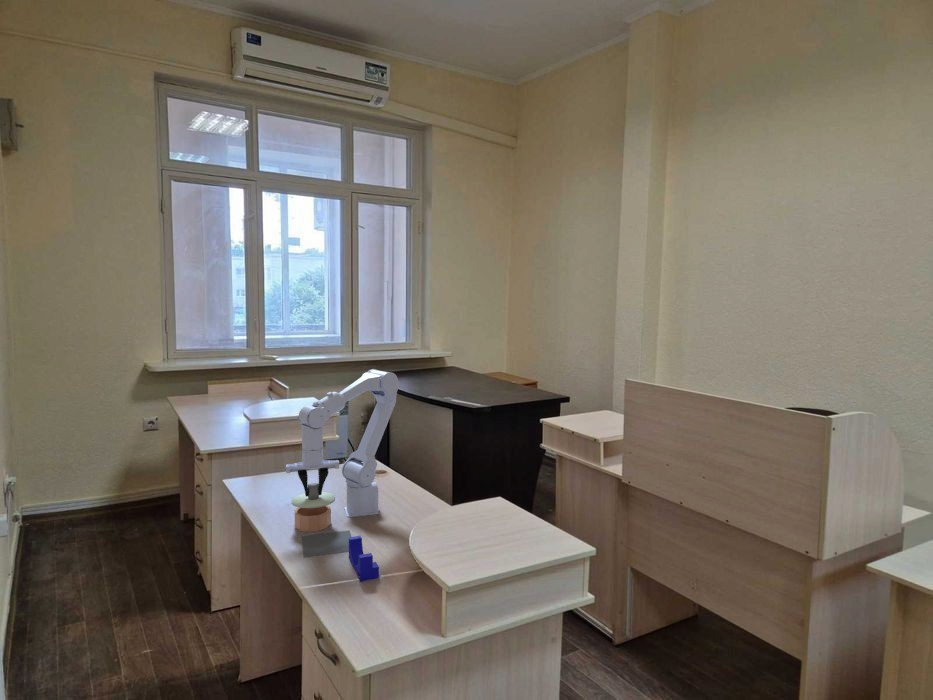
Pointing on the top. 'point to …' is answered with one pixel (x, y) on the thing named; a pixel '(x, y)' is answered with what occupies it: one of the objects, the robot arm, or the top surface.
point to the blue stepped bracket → (362, 560)
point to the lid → (313, 498)
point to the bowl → (312, 518)
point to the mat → (326, 543)
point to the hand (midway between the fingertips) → (313, 494)
